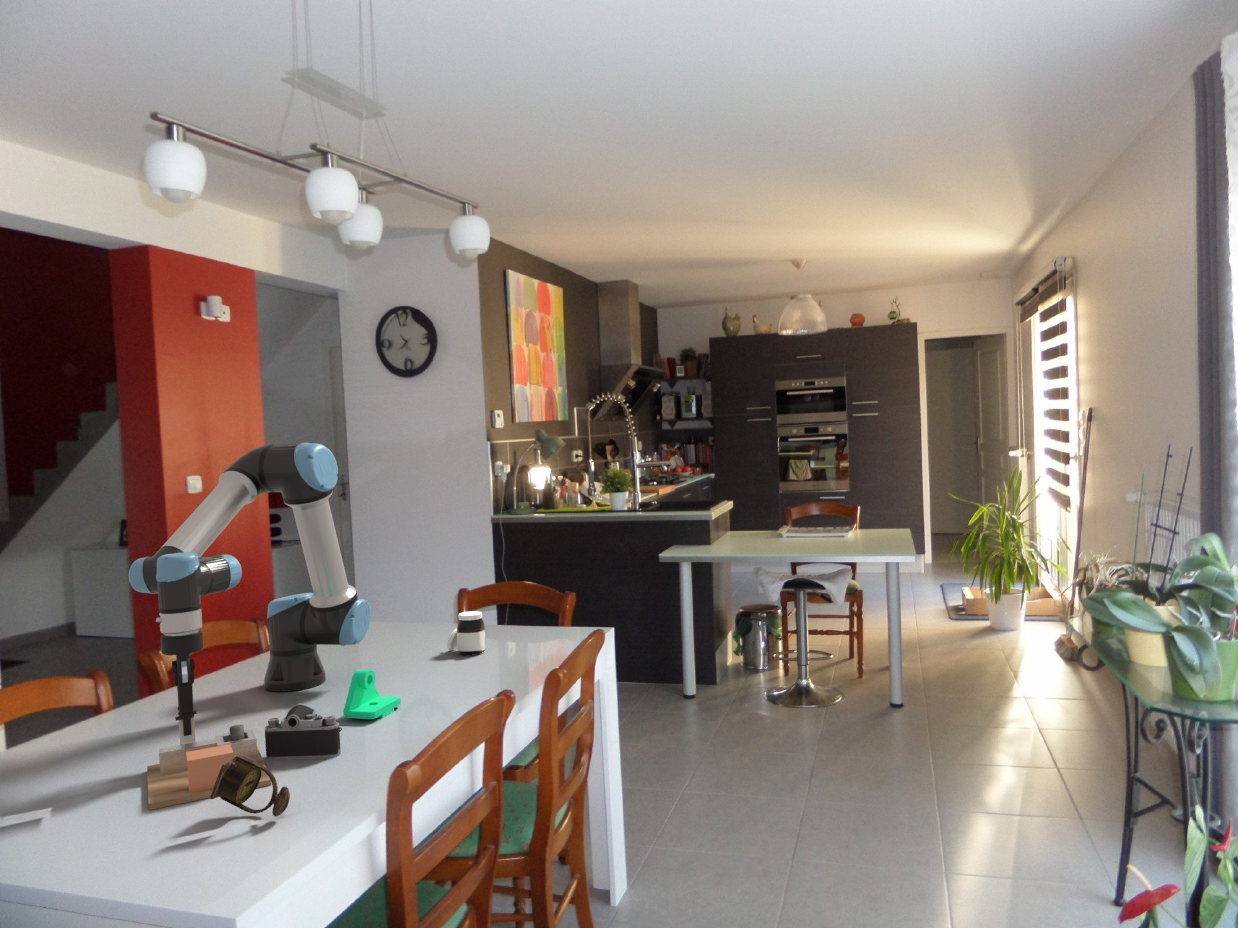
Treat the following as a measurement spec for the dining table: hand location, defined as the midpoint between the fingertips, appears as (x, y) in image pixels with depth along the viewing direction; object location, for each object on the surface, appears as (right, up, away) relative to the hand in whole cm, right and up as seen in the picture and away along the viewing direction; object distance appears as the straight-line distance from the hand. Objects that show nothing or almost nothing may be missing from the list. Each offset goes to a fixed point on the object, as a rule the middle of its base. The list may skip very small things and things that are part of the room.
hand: (188, 749), depth 181 cm
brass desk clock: (+24, -3, -26) cm, 35 cm away
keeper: (+11, -2, -14) cm, 18 cm away
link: (+5, -1, -3) cm, 6 cm away
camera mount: (+29, -1, +27) cm, 40 cm away
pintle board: (+8, -3, -9) cm, 12 cm away
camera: (+22, -2, +4) cm, 23 cm away
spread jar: (+41, +2, +84) cm, 93 cm away
